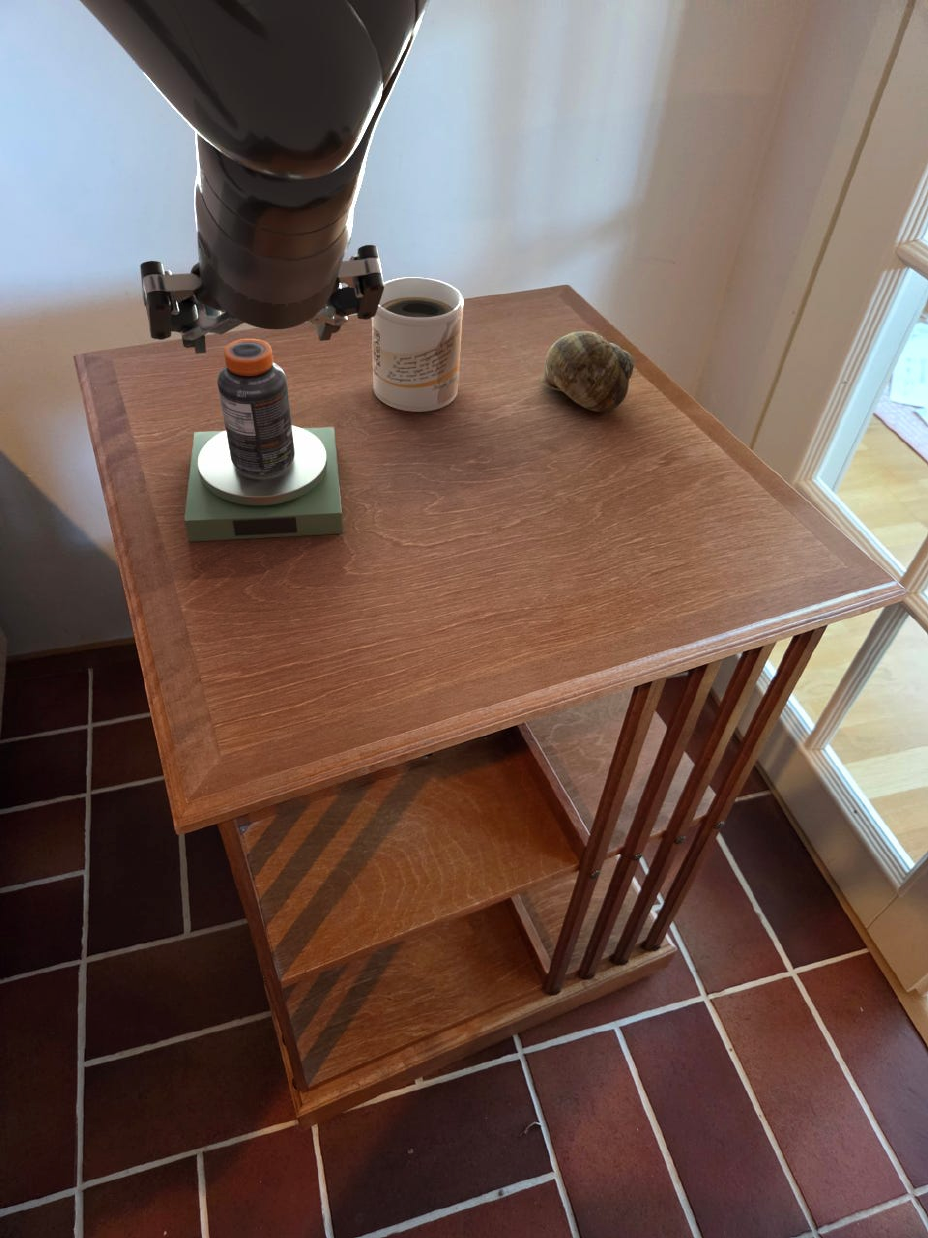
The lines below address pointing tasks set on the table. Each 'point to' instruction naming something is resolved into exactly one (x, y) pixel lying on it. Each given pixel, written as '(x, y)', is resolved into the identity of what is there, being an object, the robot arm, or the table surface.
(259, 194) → the robot arm
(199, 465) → the scale
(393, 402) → the mug
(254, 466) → the pill bottle
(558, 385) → the seashell
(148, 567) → the table surface
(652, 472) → the table surface
